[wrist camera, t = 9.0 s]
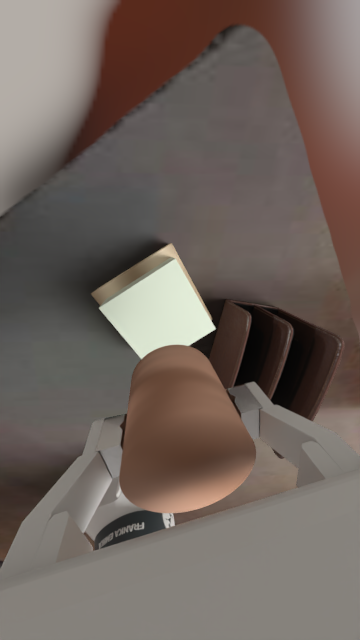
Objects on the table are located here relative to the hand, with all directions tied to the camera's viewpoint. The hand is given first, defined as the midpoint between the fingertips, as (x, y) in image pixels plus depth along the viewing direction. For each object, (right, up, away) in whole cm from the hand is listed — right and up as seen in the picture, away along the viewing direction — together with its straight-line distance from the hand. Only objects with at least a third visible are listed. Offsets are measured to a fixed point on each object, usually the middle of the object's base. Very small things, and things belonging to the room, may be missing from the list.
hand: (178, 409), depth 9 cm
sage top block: (-3, +6, +16) cm, 18 cm away
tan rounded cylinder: (0, +1, +2) cm, 2 cm away
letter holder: (+10, -2, +26) cm, 28 cm away
